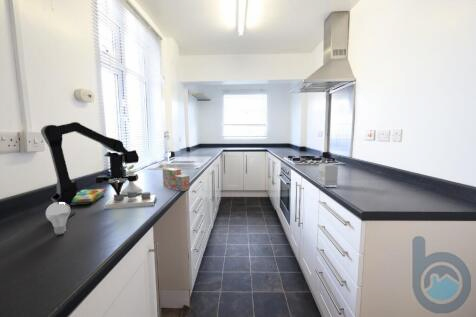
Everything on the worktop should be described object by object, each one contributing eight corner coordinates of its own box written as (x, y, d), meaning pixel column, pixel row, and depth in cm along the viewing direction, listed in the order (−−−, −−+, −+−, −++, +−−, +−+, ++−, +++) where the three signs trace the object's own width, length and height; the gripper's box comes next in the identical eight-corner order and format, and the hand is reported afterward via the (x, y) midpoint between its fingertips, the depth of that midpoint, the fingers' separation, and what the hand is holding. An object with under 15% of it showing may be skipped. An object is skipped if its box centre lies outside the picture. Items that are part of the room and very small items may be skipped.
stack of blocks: (189, 189, 142) (189, 170, 141) (181, 191, 138) (181, 172, 136) (171, 184, 156) (170, 167, 155) (163, 186, 152) (162, 168, 150)
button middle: (136, 197, 114) (135, 193, 114) (126, 198, 113) (126, 193, 113) (137, 195, 118) (137, 190, 118) (129, 195, 117) (128, 191, 117)
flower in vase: (137, 190, 140) (135, 151, 137) (145, 194, 132) (143, 152, 129) (115, 194, 131) (112, 152, 128) (122, 198, 123) (119, 153, 120)
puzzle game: (105, 187, 130) (90, 197, 111) (105, 195, 131) (91, 206, 112) (82, 188, 128) (63, 198, 109) (83, 196, 129) (64, 208, 109)
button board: (153, 205, 112) (153, 201, 111) (104, 208, 107) (104, 204, 107) (156, 198, 123) (156, 194, 123) (112, 201, 118) (112, 197, 118)
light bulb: (52, 240, 76) (49, 206, 74) (44, 235, 79) (41, 203, 78) (76, 232, 82) (73, 201, 80) (67, 228, 85) (64, 198, 84)
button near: (122, 200, 113) (122, 195, 112) (112, 201, 112) (112, 196, 111) (124, 197, 117) (124, 193, 117) (115, 198, 116) (115, 194, 116)
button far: (149, 198, 116) (149, 194, 115) (140, 199, 115) (140, 194, 114) (151, 196, 120) (150, 191, 120) (142, 196, 119) (142, 192, 119)
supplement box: (330, 184, 155) (331, 163, 153) (337, 187, 146) (338, 165, 144) (317, 184, 154) (318, 163, 152) (324, 188, 145) (325, 165, 143)
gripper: (139, 162, 122) (141, 189, 124) (101, 163, 118) (104, 191, 120) (135, 165, 111) (136, 195, 113) (93, 166, 107) (95, 197, 109)
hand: (118, 194), depth 114 cm, fingers closed, pressing on button near
